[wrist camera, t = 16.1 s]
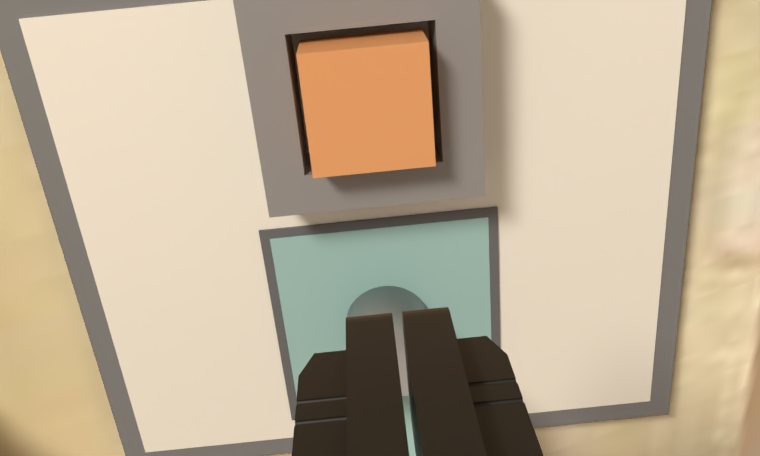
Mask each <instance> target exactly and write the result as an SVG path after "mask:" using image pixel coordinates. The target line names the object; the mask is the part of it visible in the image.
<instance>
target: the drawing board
mask: <svg viewBox="0 0 760 456" xmlns="http://www.w3.org/2000/svg"><path fill="white" fill-rule="evenodd" d="M711 4H712V0H0V50H1V54H2V57H3V60H4V63H5V66H6V70H7V73H8V76H9V79H10V83H11V86H12V89H13V92H14V96H15V99H16V102H17V105H18V109H19V112H20V115H21V118H22V122H23V125H24V128H25V131H26V134H27V138H28V141H29V144H30V147H31V151H32V154H33V157H34V160H35V164H36V167H37V170H38V173H39V177H40V180H41V183H42V186H43V190H44V193H45V196H46V199H47V202H48V206H49V209H50V212H51V215H52V219H53V222H54V225H55V228H56V232H57V235H58V238H59V241H60V245H61V248H62V251H63V254H64V258H65V261H66V264H67V267H68V270H69V274H70V277H71V280H72V283H73V287H74V290H75V293H76V296H77V300H78V303H79V306H80V309H81V313H82V316H83V319H84V322H85V326H86V329H87V332H88V335H89V338H90V342H91V345H92V348H93V351H94V355H95V358H96V361H97V364H98V368H99V371H100V374H101V377H102V381H103V384H104V387H105V390H106V393H107V397H108V400H109V403H110V406H111V410H112V413H113V416H114V419H115V423H116V426H117V429H118V432H119V436H120V439H121V442H122V445H123V449H124V452H125V455H126V456H264V455H274V454H284V453H292V446H293V435H294V426H295V412H296V405H297V401H296V400H297V388H298V377H299V374H300V373H301V372H302V370H303V369H304V367H305V366H306V364H307V363H308V361H309V360H310V359H311V357H312V356H313V354H314V353H322V352H332V351H342V350H346V317H347V313H348V310H349V308H350V306H351V305H352V303H353V302H354V301H355V300H356V299H357V298H358V297H359V296H360V295H361V294H363V293H364V292H366V291H368V290H370V289H373V288H376V287H381V286H396V287H401V288H404V289H406V290H409V291H411V292H412V293H414V294H415V295H416V296H417V297H419V298H420V300H421V301H422V302H423V304H424V305H425V307H426V309H432V308H442V307H448V308H449V311H450V314H451V318H452V322H453V326H454V330H455V334H456V338H457V339H459V338H469V337H479V336H487V337H488V338H490V339H491V340H492V341H493V342H494V343H495V344H496V345H497V346H498V347H500V348H501V349H502V350H503V351H504V352H505V353H506V354H507V355H508V358H509V361H510V363H511V366H512V369H513V372H514V375H515V377H516V383H518V386H519V389H520V391H521V394H522V397H523V403H525V405H526V408H527V411H528V414H529V417H530V420H531V422H532V425H533V428H539V427H549V426H558V425H568V424H578V423H588V422H598V421H608V420H617V419H627V418H637V417H647V416H657V415H666V414H668V413H669V404H670V394H671V385H672V375H673V366H674V356H675V347H676V337H677V328H678V318H679V309H680V299H681V290H682V280H683V271H684V261H685V251H686V242H687V232H688V223H689V213H690V204H691V194H692V185H693V175H694V166H695V156H696V147H697V137H698V128H699V118H700V109H701V99H702V90H703V80H704V71H705V61H706V52H707V42H708V33H709V23H710V14H711ZM417 28H421V29H422V31H423V32H424V34H425V36H426V38H427V39H428V41H429V55H430V72H431V90H432V107H433V124H434V142H435V159H436V166H433V167H423V168H413V169H403V170H392V171H382V172H372V173H362V174H352V175H342V176H332V177H322V178H313V175H312V168H311V160H310V153H309V146H308V138H307V131H306V124H305V116H304V109H303V102H302V94H301V87H300V80H299V72H298V65H297V57H296V53H297V49H298V45H299V42H300V40H305V39H315V38H325V37H335V36H345V35H356V34H366V33H376V32H386V31H397V30H407V29H417Z"/></svg>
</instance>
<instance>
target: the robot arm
mask: <svg viewBox="0 0 760 456" xmlns="http://www.w3.org/2000/svg"><path fill="white" fill-rule="evenodd" d="M402 324H403V336H404V347H405V359H406V370H407V382H408V393H409V403H410V413H411V422H412V430H413V438H414V446H415V453H416V456H543V453H542V450H541V448H540V445H539V442H538V439H537V436H536V434H535V431H534V428H533V425H532V422H531V420H530V417H529V414H528V411H527V408H526V405H525V403H523V397H522V394H521V391H520V389H519V386H518V383H516V377H515V375H514V372H513V369H512V366H511V363H510V361H509V358H508V355H507V354H506V353H505V352H504V351H503V350H502V349H501V348H500V347H498V346H497V345H496V344H495V343H494V342H493V341H492V340H491V339H490V338H488V337H487V336H479V337H469V338H459V339H457V338H456V334H455V330H454V326H453V322H452V318H451V314H450V311H449V308H448V307H442V308H432V309H422V310H412V311H403V312H402ZM296 401H297V405H296V412H295V426H294V435H293V446H292V456H409V449H408V441H407V432H406V424H405V416H404V407H403V399H402V391H401V382H400V374H399V366H398V357H397V349H396V341H395V333H394V324H393V316H392V313H384V314H374V315H364V316H354V317H346V350H342V351H332V352H322V353H314V354H313V356H312V357H311V359H310V360H309V361H308V363H307V364H306V366H305V367H304V369H303V370H302V372H301V373H300V374H299V377H298V388H297V400H296Z"/></svg>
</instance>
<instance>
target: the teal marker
mask: <svg viewBox="0 0 760 456" xmlns="http://www.w3.org/2000/svg"><path fill="white" fill-rule="evenodd" d="M422 309H426V307H425V305H424V304H423V302H422V301H421V300H420V298H419V297H417V296H416V295H415V294H414V293H412V292H411V291H409V290H406V289H404V288H401V287H396V286H381V287H376V288H373V289H370V290H368V291H366V292H364V293H363V294H361V295H360V296H359V297H358V298H357V299H356V300H355V301H354V302H353V303H352V305H351V306H350V308H349V310H348V313H347V317H354V316H364V315H374V314H384V313H392V316H393V324H394V333H395V341H396V349H397V357H398V366H399V374H400V382H401V391H402V399H403V407H404V416H405V424H406V432H407V441H408V449H409V456H416V453H415V446H414V438H413V430H412V422H411V413H410V403H409V393H408V382H407V370H406V359H405V347H404V336H403V324H402V312H403V311H412V310H422Z"/></svg>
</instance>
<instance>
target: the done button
mask: <svg viewBox="0 0 760 456" xmlns="http://www.w3.org/2000/svg"><path fill="white" fill-rule="evenodd" d="M296 57H297V65H298V72H299V80H300V87H301V94H302V102H303V109H304V116H305V124H306V131H307V138H308V146H309V153H310V160H311V168H312V175H313V178H322V177H332V176H342V175H352V174H362V173H372V172H382V171H392V170H403V169H413V168H423V167H433V166H436V159H435V142H434V124H433V107H432V90H431V72H430V55H429V41H428V39H427V38H426V36H425V34H424V32H423V31H422V29H421V28H417V29H407V30H397V31H386V32H376V33H366V34H356V35H345V36H335V37H325V38H315V39H305V40H300V42H299V45H298V49H297V53H296Z"/></svg>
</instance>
